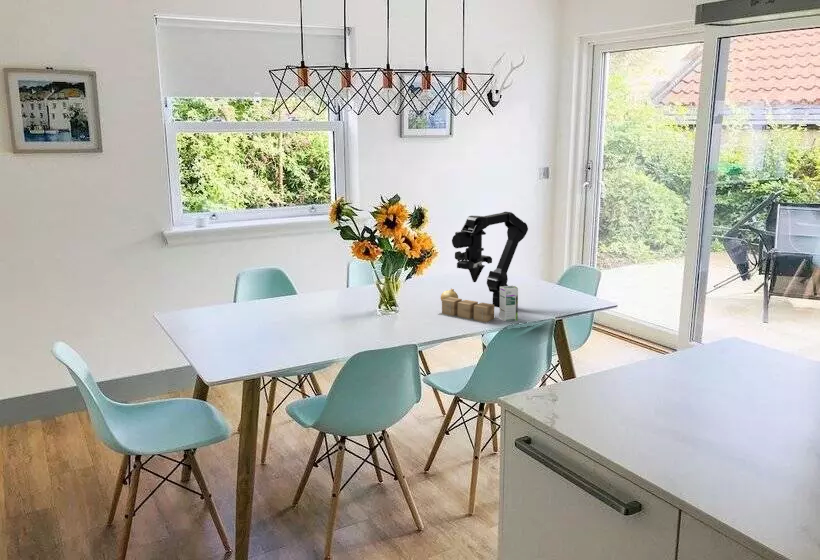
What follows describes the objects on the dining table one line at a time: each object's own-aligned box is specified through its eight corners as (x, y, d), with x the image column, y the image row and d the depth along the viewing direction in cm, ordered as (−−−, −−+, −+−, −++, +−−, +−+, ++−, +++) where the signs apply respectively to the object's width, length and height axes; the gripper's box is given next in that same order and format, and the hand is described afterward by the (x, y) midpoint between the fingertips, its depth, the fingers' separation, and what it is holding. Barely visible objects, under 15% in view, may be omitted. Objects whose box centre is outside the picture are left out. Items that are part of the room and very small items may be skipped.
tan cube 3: (450, 310, 295) (450, 296, 294) (461, 312, 292) (461, 299, 290) (441, 313, 291) (441, 299, 289) (453, 315, 287) (453, 301, 286)
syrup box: (504, 323, 278) (505, 288, 275) (499, 320, 284) (499, 285, 281) (517, 322, 280) (518, 287, 277) (511, 318, 285) (512, 284, 282)
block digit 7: (481, 316, 286) (481, 302, 284) (494, 318, 282) (494, 304, 281) (473, 319, 281) (473, 305, 280) (485, 322, 277) (486, 307, 276)
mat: (451, 311, 298) (451, 309, 298) (498, 320, 283) (498, 318, 283) (437, 316, 290) (437, 314, 290) (485, 326, 276) (485, 323, 275)
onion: (456, 306, 306) (457, 291, 304) (439, 306, 307) (439, 290, 306) (459, 302, 313) (459, 287, 312) (442, 301, 315) (442, 286, 313)
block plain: (465, 313, 291) (465, 299, 289) (477, 315, 287) (477, 301, 286) (457, 316, 286) (457, 302, 285) (469, 318, 282) (469, 304, 281)
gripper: (471, 241, 303) (471, 275, 307) (446, 247, 289) (446, 283, 292) (493, 243, 296) (492, 279, 300) (468, 249, 282) (468, 286, 286)
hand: (474, 282), depth 295 cm, fingers closed
